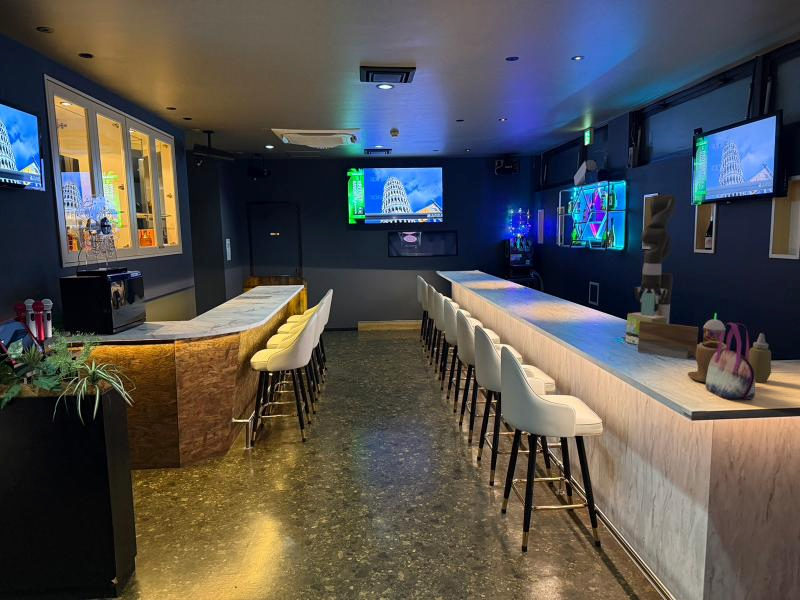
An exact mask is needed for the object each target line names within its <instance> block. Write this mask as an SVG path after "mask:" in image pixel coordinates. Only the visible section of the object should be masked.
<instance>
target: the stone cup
mask: <svg viewBox="0 0 800 600" xmlns="http://www.w3.org/2000/svg"><path fill="white" fill-rule="evenodd" d="M718 345H719V342H717V341H707V342H703V341H702V342H699V344H697V349H696V357H695V360H696V364H697V365H696V366H697V371H689V372H687V377H689V378H690V379H692V380H695V381H697V382H702V383H703V382H704V383H706V377H707V372H708V367H709V363H710V360H711V358H712V356H713V355H714V354H715V353H716V352H717V351H718ZM721 350H726V344H725V343H724V342H723V343H721Z"/></svg>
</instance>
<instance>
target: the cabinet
mask: <svg viewBox="0 0 800 600" xmlns="http://www.w3.org/2000/svg"><path fill="white" fill-rule="evenodd" d="M656 296H657V295H656ZM641 297H642V308H641V309H640V312H641V315H645V316H655V315H656V312H654V308H655V294H652V293H643V292H642V294H641Z"/></svg>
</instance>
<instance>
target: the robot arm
mask: <svg viewBox="0 0 800 600" xmlns="http://www.w3.org/2000/svg"><path fill="white" fill-rule="evenodd" d="M676 208H677V198H676V196H675V195H673V194H655V195H654V194H653V195H652V196H651V198H650V203H649V209H650V221H649V224H648V225H647V226H646V227H645V228H644V229H643V231H642V232H641V234H640V235H641V237H640V239H641V242H642V243H643V244H644V245H649V246H650V247H649V249H647V250H645V251H644V256H643V257H644V258H643V266H642V271H641V272H642V278H641V279H642V280H641V285H640V286H636V287H634V288H633V290H634V296H635V300H636V301H638V302H639V309H640V310H641V308H642V296H641V295H640V292H642V294H643V293H652V294H655V308H654V312H656V315H658V316H663V317H667V320H666V324H670V312H671V299H672V297H671V296H672V288H673V282H674V278H673V277H674V276H673V274H672V273H670V272H662V262H663V261H664V260H666V258H667V257H668V255H669V254H670V252H671V249H672V248H671V247H672V244H671V243H672V238H671V236H670V234H669V232H668V230H667V225H668V223H669V221H670V219H671V218H672V216H673V215H674V213H675V211H676ZM659 292H660V293H661V294H660V295H659ZM656 295H657V296H656Z"/></svg>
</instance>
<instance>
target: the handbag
mask: <svg viewBox="0 0 800 600" xmlns="http://www.w3.org/2000/svg"><path fill="white" fill-rule="evenodd" d="M727 324H728V325H730V326H731V327H730V330H729V331H728V333H727V337H726V344H725V345H726V350H721V343H722V336H723V329H724V327H725V326H724V327H723V329H722V332H721V335H720V340H719V345H718V351H717V352H716V353H715V354H714V355H713V356H712V358H711V360H710V363H709V367H708V372H707V377H706V382H705V389H706V391H708V392H710V393H712V394H714V395H716V396H718V397H720V398H722V399H727V400H729V399H732V400H733V399H747V400H753V399H754V398H755V396H756V382H755V373H754V370H753V367H752V365H751V364H750V363H749V350H750V342H749V341H750V340H749V333H748V330H747V329H746V328H747V327H746V326H744V324H743V323H739V322H727V323H726V325H727ZM740 325H742V326H744V327H745V330H746V331H745V332H746V337H745V339H746V346H745V356H744V355H742V354H741V351H742V340H741V334H740V331H739V328H738V327H739V326H740ZM733 335H734V337H735V341H736V351H735V350H731V349H730V348H731V342H732V338H733Z"/></svg>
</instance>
